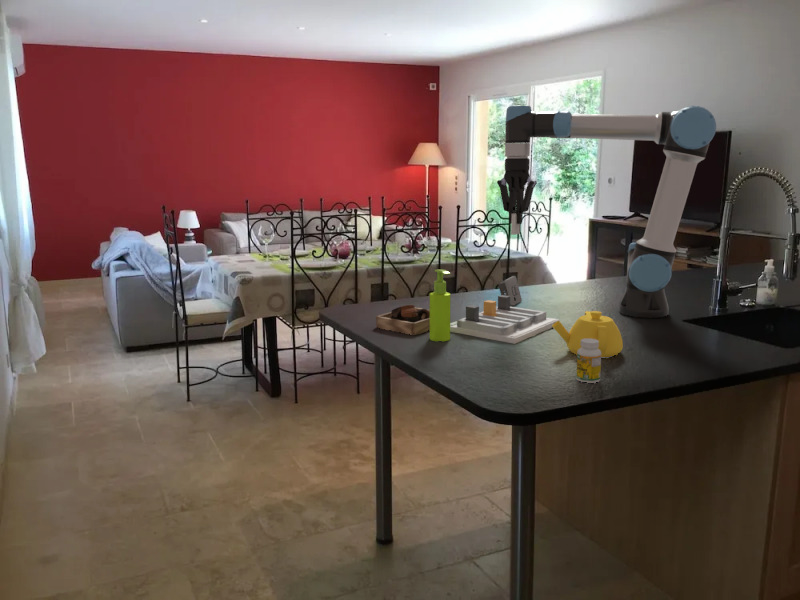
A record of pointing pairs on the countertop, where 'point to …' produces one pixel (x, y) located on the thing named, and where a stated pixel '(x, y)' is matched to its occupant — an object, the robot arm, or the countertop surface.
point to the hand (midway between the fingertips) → (515, 234)
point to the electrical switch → (511, 290)
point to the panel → (505, 338)
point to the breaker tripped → (489, 308)
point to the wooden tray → (403, 324)
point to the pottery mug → (409, 313)
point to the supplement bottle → (589, 361)
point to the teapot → (592, 333)
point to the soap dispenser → (440, 309)
